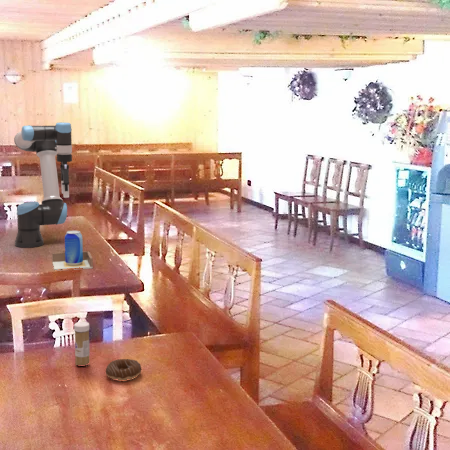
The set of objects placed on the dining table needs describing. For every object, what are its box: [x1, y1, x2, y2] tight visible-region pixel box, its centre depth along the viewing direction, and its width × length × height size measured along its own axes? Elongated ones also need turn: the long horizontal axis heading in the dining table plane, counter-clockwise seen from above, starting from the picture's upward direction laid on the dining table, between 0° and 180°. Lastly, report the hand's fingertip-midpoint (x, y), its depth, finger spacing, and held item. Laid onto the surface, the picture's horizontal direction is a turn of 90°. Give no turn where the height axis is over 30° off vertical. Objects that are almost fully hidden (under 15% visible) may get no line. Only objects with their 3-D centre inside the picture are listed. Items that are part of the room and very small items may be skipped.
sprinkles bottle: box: [73, 321, 90, 366], centre depth 199 cm, size 5×5×13 cm
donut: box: [105, 358, 142, 380], centre depth 193 cm, size 11×11×4 cm
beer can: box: [64, 230, 84, 266], centre depth 314 cm, size 8×8×16 cm
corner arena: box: [51, 250, 94, 271], centre depth 316 cm, size 15×18×5 cm
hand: (65, 195), depth 329 cm, fingers open, 13 cm apart
